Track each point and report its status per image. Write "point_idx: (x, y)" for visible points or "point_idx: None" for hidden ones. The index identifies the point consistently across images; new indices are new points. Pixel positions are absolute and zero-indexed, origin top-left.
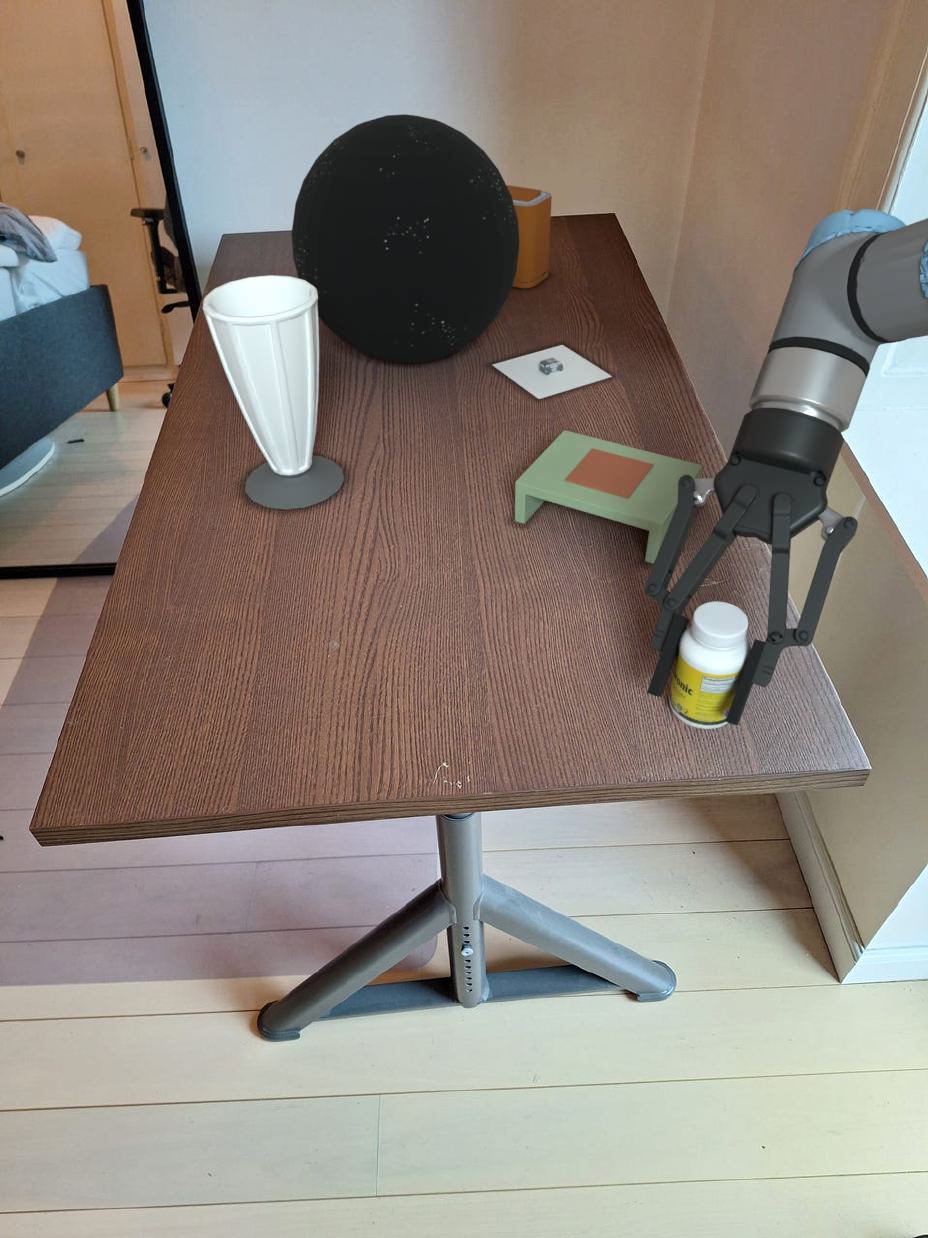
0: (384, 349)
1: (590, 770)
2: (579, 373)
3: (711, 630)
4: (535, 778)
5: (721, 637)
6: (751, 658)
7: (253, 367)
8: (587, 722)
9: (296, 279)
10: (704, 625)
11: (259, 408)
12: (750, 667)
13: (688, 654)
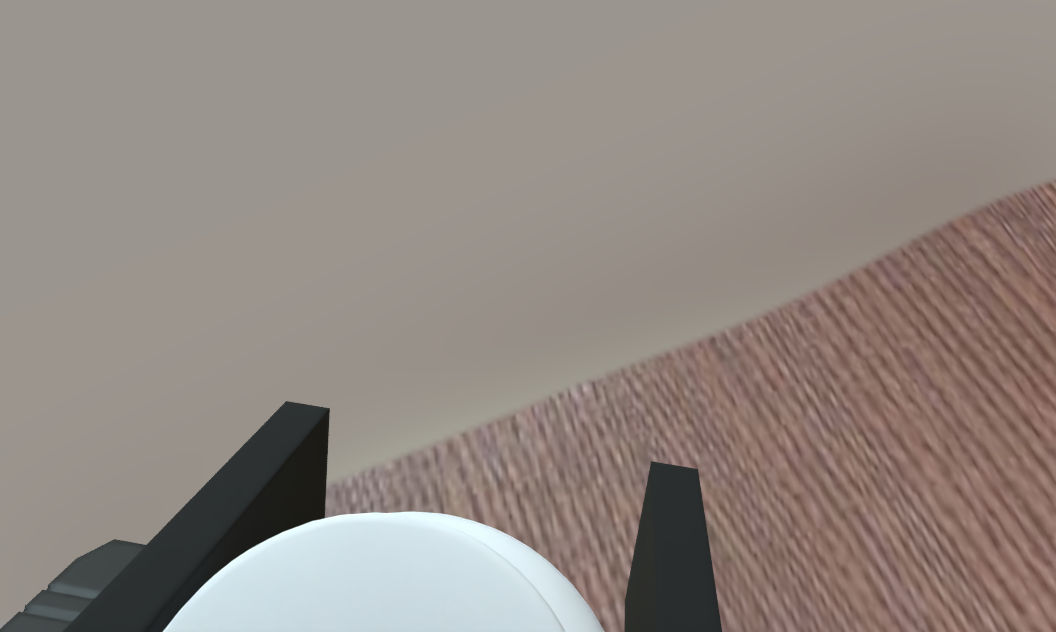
0: None
1: (762, 346)
2: None
3: (421, 555)
4: (903, 268)
5: (339, 515)
6: (149, 599)
7: None
8: (856, 545)
9: None
10: (484, 598)
11: None
12: (167, 557)
13: (554, 574)
